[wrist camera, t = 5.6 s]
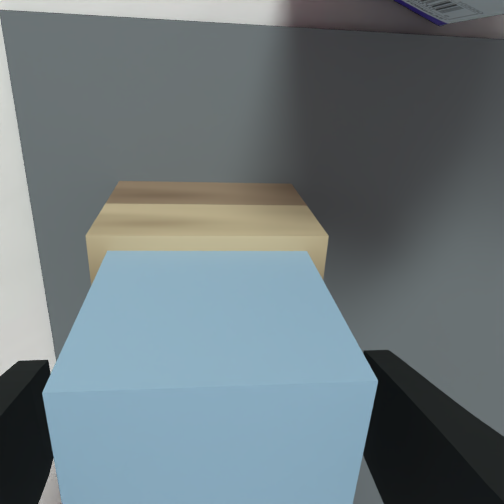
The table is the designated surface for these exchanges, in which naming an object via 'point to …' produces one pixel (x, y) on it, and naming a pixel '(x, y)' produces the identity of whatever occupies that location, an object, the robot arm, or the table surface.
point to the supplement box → (454, 9)
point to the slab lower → (204, 193)
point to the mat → (288, 165)
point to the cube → (209, 384)
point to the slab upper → (205, 230)
